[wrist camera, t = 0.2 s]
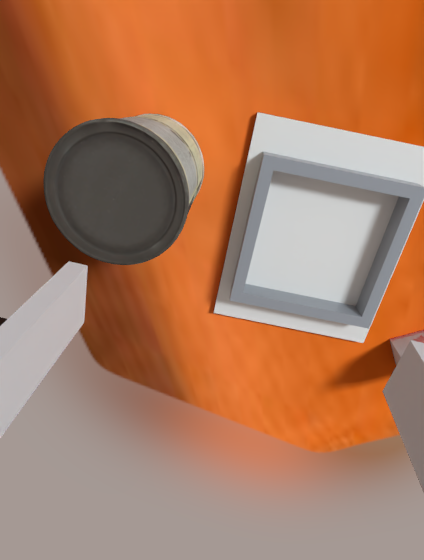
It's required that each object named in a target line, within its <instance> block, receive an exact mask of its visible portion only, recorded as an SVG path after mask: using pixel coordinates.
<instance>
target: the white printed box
mask: <svg viewBox="0 0 424 560" xmlns="http://www.w3.org/2000/svg"><path fill="white" fill-rule="evenodd" d="M410 340H412V341H416V342H421V343H424V330H421V331H417V332H414V333H410V334H406V335H402V336H399V337H395V338H391V339H390V343H391V347H392V351H393V355H394V359H395V363H396V365H397V364H398V362H399V360H400V358H401V357H402V355H403V353H404V351H405V349H406V347H407V346H408V344H409V342H410Z"/></svg>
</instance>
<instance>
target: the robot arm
mask: <svg viewBox="0 0 424 560" xmlns="http://www.w3.org/2000/svg"><path fill="white" fill-rule="evenodd" d="M87 268H88V266H87V265H83V264H79V263H74V262H70V261H69V262H68V263H66V264H65V265H64V266H63V267H62V268H61V269H60V270H59V271H58V272H57V273H56V274H55V275H54V276H53V277H52V278H51V279H50V280H49V281H47V282H46V283H45V284H44V285H43V286H42V287H41V288H40V289H39V290H38V291H37V292H36V293H35V294H34V295H33V296H32V297H31V298H29V299H28V300H27V301H26V302H25V303H24V304H23V305H22V306H21V307H20V308H19V309H18V310H17V311H16V312H15V313H14V314H13V315H11V316H10V317H9V318H8V319H5V318H1V317H0V438H1V437H2V435H3V434H4V432H5V431H6V429H7V428H8V427H9V425H10V424H11V423H12V421H13V420H14V419H15V417H16V416H17V415H18V413H19V412H20V410H21V409H22V408H23V406H24V405H25V403H26V402H27V401H28V399H29V398H30V397H31V395H32V394H33V392H34V391H35V390H36V388H37V387H38V385H39V384H40V383H41V381H42V380H43V379H44V377H45V376H46V374H47V373H48V372H49V370H50V369H51V368H52V366H53V365H54V363H55V362H56V361H57V359H58V358H59V356H60V355H61V354H62V352H63V351H64V349H65V348H66V347H67V345H68V344H69V343H70V341H71V340H72V338H73V337H74V336H75V334H76V333H77V332H78V330H79V329H80V327H81V326H82V325H83V323H84V317H85V300H86V284H87ZM383 393H384V396H385V398H386V401H387V403H388V406H389V408H390V411H391V413H392V416H393V418H394V421H395V423H396V426H397V428H398V430H399V433H400V435H401V438H402V440H403V443H404V445H405V448H406V450H407V453H408V455H409V458H410V460H411V463H412V465H413V467H414V470H415V472H416V475H417V477H418V480H419V482H420V485H421V487H422V490H423V492H424V343H421V342H416V341H412V340H410V342H409V344H408V346H407V347H406V349H405V351H404V353H403V355H402V357H401V358H400V360H399V362H398V364H397V366H396V368H395V369H394V371H393V373H392V375H391V377H390V379H389V381H388V382H387V384H386V386H385V388H384V390H383Z"/></svg>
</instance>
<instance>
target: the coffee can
mask: <svg viewBox="0 0 424 560" xmlns="http://www.w3.org/2000/svg"><path fill="white" fill-rule="evenodd" d="M203 177H204V161H203V156H202V152H201V149H200V147H199V145H198V143H197V141H196V139H195V137H194V136H193V135H192V134H191V133H190V131H189V130H188V129H187V128H186V127H185V126H183V125H182V124H181V123H179V122H178V121H176V120H174V119H172V118H170V117H167V116H163V115H160V114H143V115H139V116H135V117H127V118H120V119H117V118H102V119H95V120H90V121H87V122H84V123H82V124H79V125H78V126H76V127H74V128H72V129H71V130H69V131H68V132H67V133H66V134H65V135H64V136H63V137H62V138H61V139H60V140H59V141H58V142H57V144H56V145H55V146H54V148H53V149H52V151H51V153H50V155H49V158H48V160H47V163H46V167H45V171H44V194H45V199H46V204H47V207H48V210H49V213H50V215H51V217H52V219H53V221H54V223H55V225H56V226H57V227H58V229H59V230H60V232H61V233H62V234H63V235H64V237H65V238H66V239H67V240H68V241H69V242H70V243H71V244H73V245H74V246H75V247H76V248H77V249H79V250H80V251H81V252H83V253H84V254H86V255H88V256H90V257H92V258H94V259H97V260H100V261H102V262H107V263H111V264H119V265H131V264H138V263H143V262H146V261H148V260H151V259H153V258H155V257H157V256H159V255H160V254H162V253H163V252H164V251H166V250H167V249H168V248H169V247H170V246H171V245H172V244H173V243H174V241H175V240H176V239H177V237H178V236H179V234H180V232H181V231H182V229H183V227H184V224H185V221H186V218H187V214H188V212H189V210H190V207H191V205H192V203H193V201H194V199H195V197H196V195H197V194H198V192H199V190H200V187H201V185H202V181H203Z"/></svg>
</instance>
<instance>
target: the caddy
mask: <svg viewBox="0 0 424 560" xmlns="http://www.w3.org/2000/svg"><path fill="white" fill-rule="evenodd" d="M423 201H424V147H422V146H417V145H413V144H408V143H403V142H398V141H393V140H389V139H384V138H379V137H374V136H369V135H365V134H360V133H355V132H350V131H345V130H341V129H336V128H331V127H326V126H321V125H317V124H312V123H307V122H302V121H297V120H293V119H288V118H283V117H278V116H273V115H269V114H264V113H259V112H257V116H256V121H255V125H254V130H253V134H252V139H251V143H250V148H249V153H248V157H247V162H246V166H245V171H244V175H243V180H242V185H241V189H240V194H239V198H238V203H237V207H236V212H235V216H234V221H233V226H232V230H231V235H230V239H229V244H228V248H227V253H226V258H225V262H224V267H223V271H222V276H221V280H220V285H219V289H218V294H217V299H216V303H215V308H214V313H217V314H222V315H227V316H232V317H236V318H241V319H246V320H251V321H256V322H261V323H266V324H271V325H276V326H281V327H286V328H291V329H296V330H301V331H306V332H311V333H316V334H321V335H326V336H331V337H336V338H341V339H346V340H351V341H356V342H361V343H364V340H365V338H366V336H367V333H368V331H369V329H370V326H371V324H372V322H373V319H374V317H375V314H376V312H377V310H378V307H379V305H380V303H381V300H382V298H383V296H384V293H385V291H386V288H387V286H388V284H389V281H390V279H391V277H392V274H393V272H394V270H395V267H396V265H397V263H398V260H399V258H400V255H401V253H402V251H403V248H404V246H405V244H406V241H407V239H408V237H409V234H410V232H411V229H412V227H413V225H414V222H415V220H416V218H417V215H418V213H419V211H420V208H421V206H422V203H423Z"/></svg>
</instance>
